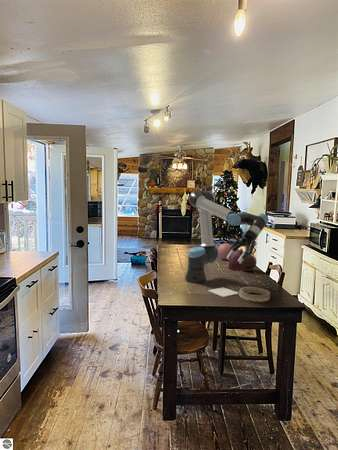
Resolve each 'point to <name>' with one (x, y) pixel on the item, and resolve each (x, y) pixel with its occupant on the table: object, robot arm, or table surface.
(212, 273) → the table surface
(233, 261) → the vegetable
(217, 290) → the white mat
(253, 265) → the wooden sphere
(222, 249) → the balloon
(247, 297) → the segmented wooden ring
